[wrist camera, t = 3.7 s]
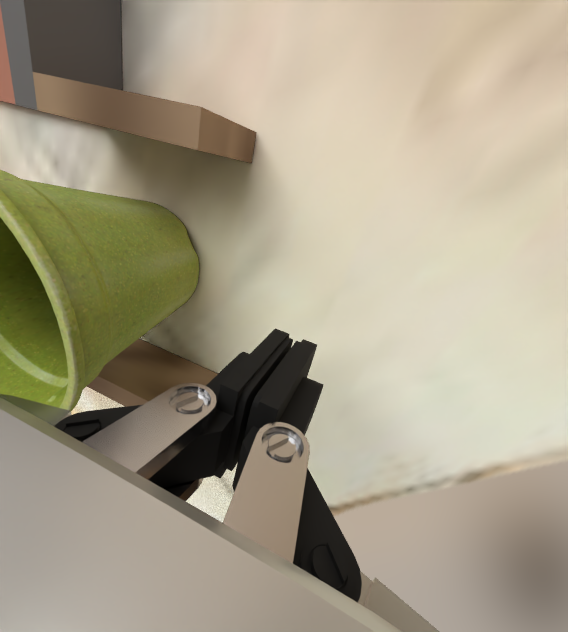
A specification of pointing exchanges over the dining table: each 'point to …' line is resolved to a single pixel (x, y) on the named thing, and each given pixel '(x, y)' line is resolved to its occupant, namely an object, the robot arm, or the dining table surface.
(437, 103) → the dining table surface
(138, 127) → the lane
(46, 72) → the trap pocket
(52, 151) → the dining table surface
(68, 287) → the plant pot
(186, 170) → the dining table surface
